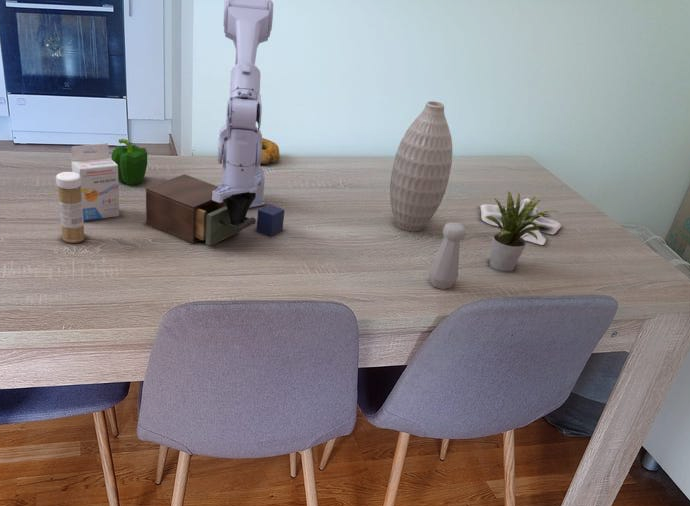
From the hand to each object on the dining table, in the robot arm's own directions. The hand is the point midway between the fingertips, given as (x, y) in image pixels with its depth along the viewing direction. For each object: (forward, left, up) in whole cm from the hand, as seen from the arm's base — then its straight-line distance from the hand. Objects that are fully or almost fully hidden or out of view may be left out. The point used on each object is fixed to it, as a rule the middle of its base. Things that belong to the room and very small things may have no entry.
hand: (236, 225), depth 146 cm
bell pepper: (+5, -40, -5) cm, 40 cm away
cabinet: (+4, -12, -4) cm, 14 cm away
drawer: (+2, -6, -4) cm, 7 cm away
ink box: (+20, -25, -5) cm, 32 cm away
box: (-11, -3, -4) cm, 12 cm away
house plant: (-47, +33, -5) cm, 58 cm away
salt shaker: (-29, +32, -5) cm, 44 cm away
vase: (-43, +8, -5) cm, 44 cm away
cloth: (-71, +19, -5) cm, 74 cm away
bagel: (+1, -12, -1) cm, 12 cm away
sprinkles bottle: (+29, -16, -5) cm, 33 cm away
